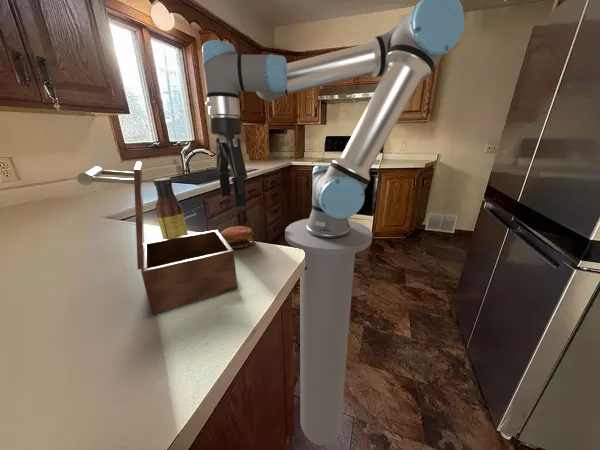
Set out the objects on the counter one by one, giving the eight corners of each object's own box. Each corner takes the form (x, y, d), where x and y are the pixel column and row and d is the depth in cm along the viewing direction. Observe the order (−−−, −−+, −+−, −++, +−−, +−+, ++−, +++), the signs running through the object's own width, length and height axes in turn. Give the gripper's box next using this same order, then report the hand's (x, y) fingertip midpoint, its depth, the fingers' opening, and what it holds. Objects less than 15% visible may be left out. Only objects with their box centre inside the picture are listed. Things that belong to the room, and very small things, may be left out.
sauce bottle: (194, 245, 72) (183, 177, 65) (181, 254, 66) (167, 181, 59) (174, 243, 73) (161, 176, 66) (159, 252, 67) (143, 180, 60)
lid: (141, 162, 47) (90, 157, 43) (140, 169, 36) (71, 163, 32) (144, 241, 52) (97, 243, 48) (143, 269, 41) (83, 275, 37)
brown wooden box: (221, 261, 62) (217, 229, 59) (237, 288, 51) (233, 250, 48) (150, 279, 55) (142, 243, 52) (152, 314, 44) (141, 271, 41)
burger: (224, 237, 77) (222, 223, 75) (254, 236, 78) (253, 222, 76) (218, 251, 68) (216, 236, 66) (252, 249, 69) (251, 234, 67)
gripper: (199, 120, 69) (209, 193, 76) (222, 113, 49) (232, 213, 56) (226, 120, 73) (232, 191, 80) (257, 114, 53) (262, 209, 60)
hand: (232, 200), depth 68 cm, fingers open, 13 cm apart
